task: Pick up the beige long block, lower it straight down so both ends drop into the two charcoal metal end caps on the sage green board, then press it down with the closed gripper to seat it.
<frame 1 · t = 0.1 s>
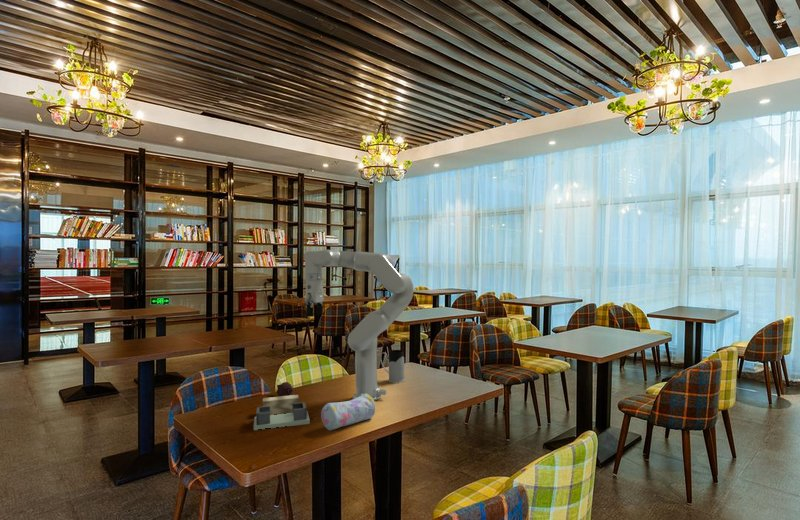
hand: (314, 315, 211), 37 cm above the table, tool pointing down, fingers open, 9 cm apart
icecream: (285, 397, 210), on the table
end caps: (281, 413, 175), on the base board, point 4 cm above the table
beige long block: (281, 412, 188), on the table
glass holder: (392, 380, 235), on the table
base board: (281, 422, 175), on the table
pencil case: (349, 424, 171), on the table
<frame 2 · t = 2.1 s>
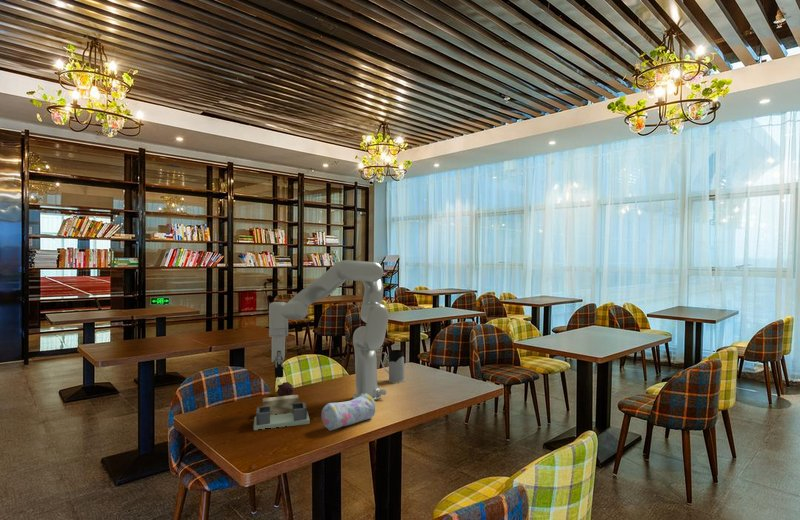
hand: (278, 374, 188), 15 cm above the table, tool pointing down, fingers open, 9 cm apart
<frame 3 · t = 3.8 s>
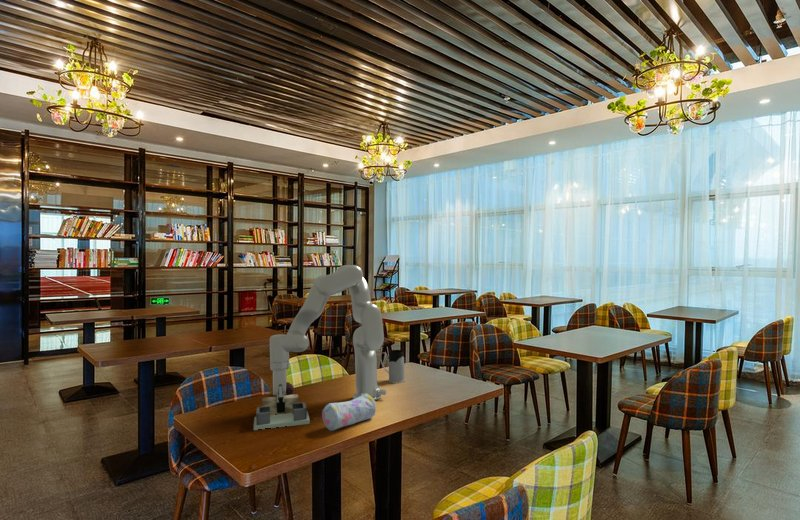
hand: (280, 409, 188), 1 cm above the table, tool pointing down, fingers closed on beige long block, 5 cm apart
beige long block: (280, 412, 188), on the table, touching gripper
everything else where it was.
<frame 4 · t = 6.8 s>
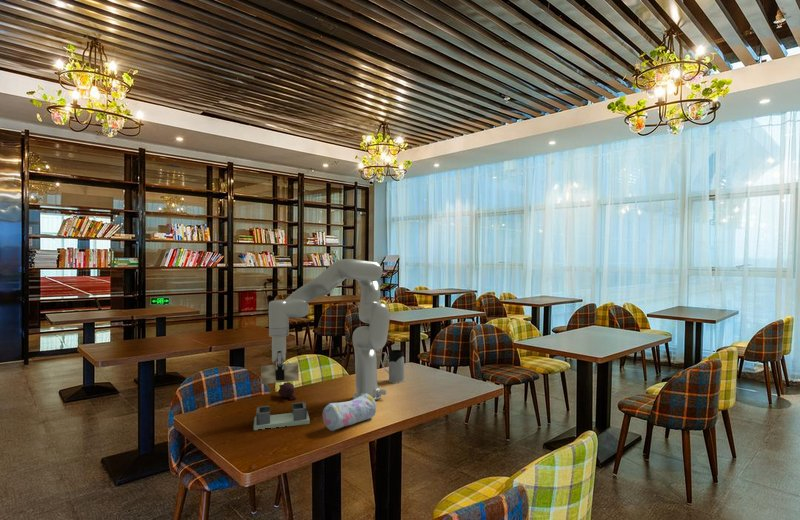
hand: (280, 378, 181), 16 cm above the table, tool pointing down, fingers closed on beige long block, 5 cm apart
beige long block: (280, 380, 181), point 14 cm above the table, touching gripper
when the fingers open (4 cm above the table, at t = 9.7 s): beige long block drops 2 cm, resting on base board.
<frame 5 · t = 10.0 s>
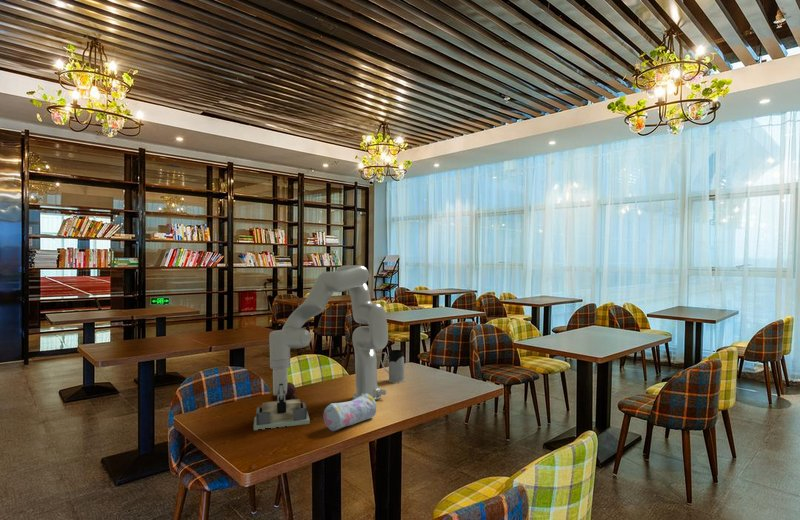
hand: (281, 409, 175), 5 cm above the table, tool pointing down, fingers open, 7 cm apart
beige long block: (281, 418, 175), point 1 cm above the table, touching base board
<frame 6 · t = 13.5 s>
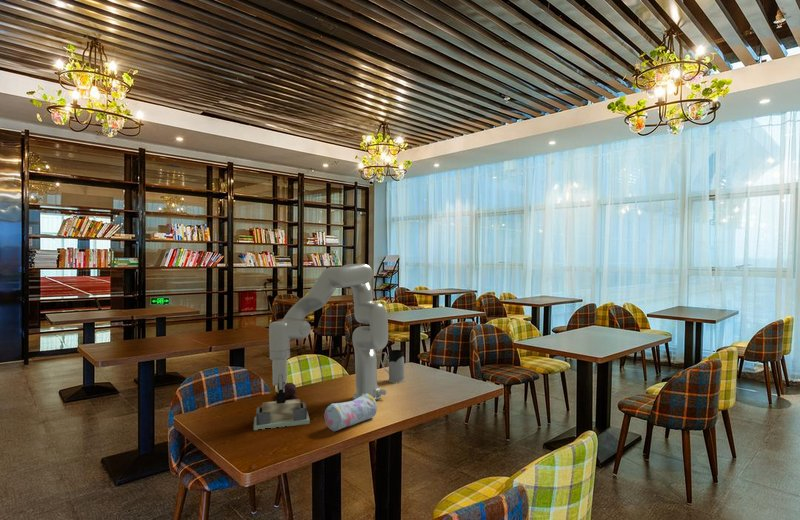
hand: (281, 402, 175), 8 cm above the table, tool pointing down, fingers closed
beige long block: (281, 418, 175), point 1 cm above the table, touching base board, gripper
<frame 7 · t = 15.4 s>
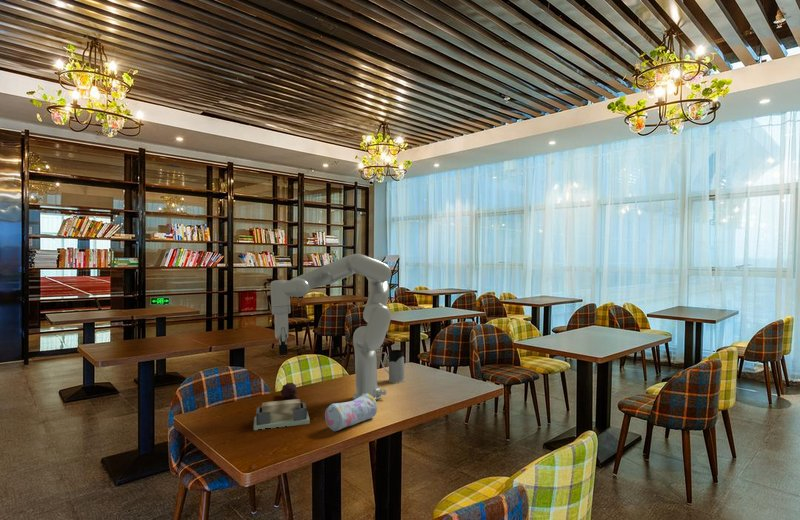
hand: (283, 354, 190), 23 cm above the table, tool pointing down, fingers closed
beige long block: (281, 418, 175), point 1 cm above the table, touching base board
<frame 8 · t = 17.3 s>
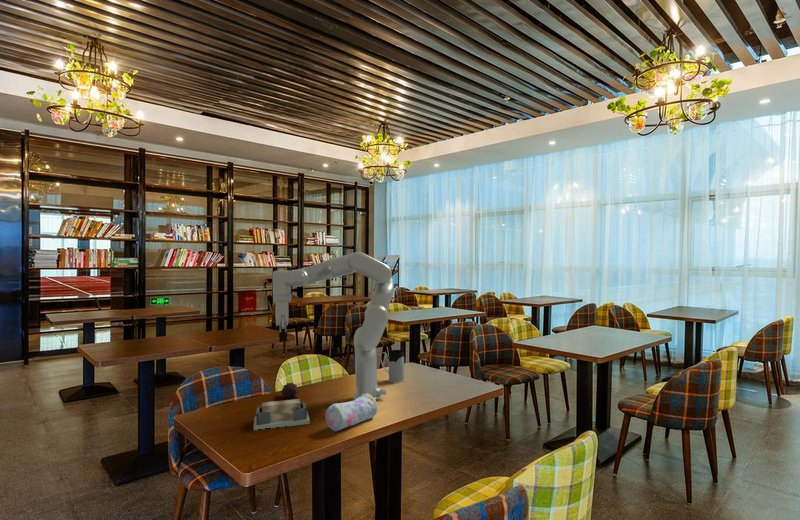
hand: (283, 341, 198), 27 cm above the table, tool pointing down, fingers closed
at the end: beige long block 0.0 cm off-centre on the end caps, point 1.5 cm above the end caps's base; beige long block tilted 0°; the gripper is holding nothing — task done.
